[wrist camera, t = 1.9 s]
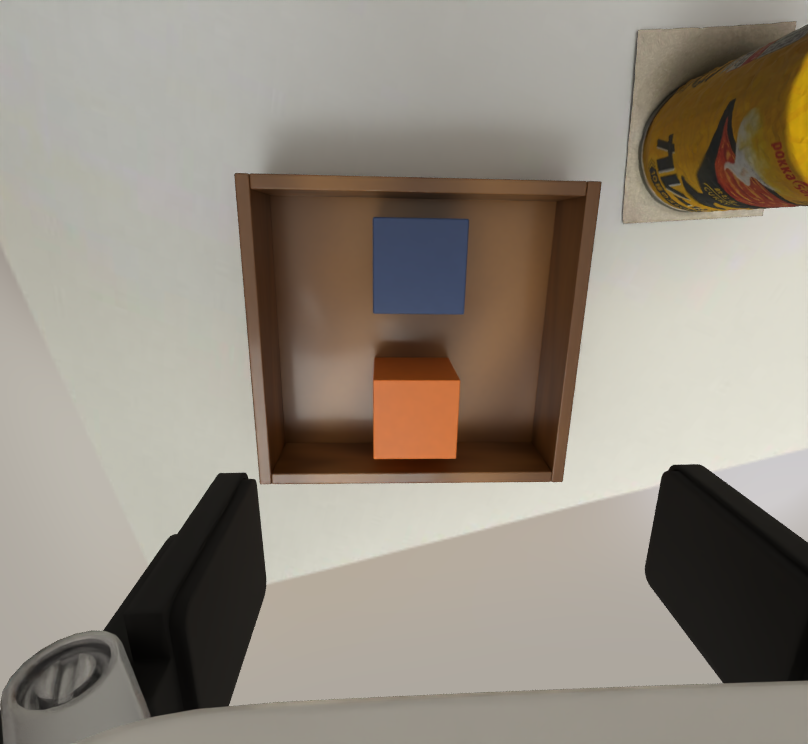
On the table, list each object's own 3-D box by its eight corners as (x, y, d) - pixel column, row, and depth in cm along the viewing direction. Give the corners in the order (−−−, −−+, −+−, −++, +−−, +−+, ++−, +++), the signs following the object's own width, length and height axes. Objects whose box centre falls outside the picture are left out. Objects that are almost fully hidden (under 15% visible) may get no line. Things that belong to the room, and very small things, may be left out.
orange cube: (374, 425, 26) (373, 459, 22) (374, 357, 25) (373, 379, 21) (445, 425, 26) (456, 459, 22) (448, 357, 25) (460, 380, 21)
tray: (277, 448, 27) (259, 484, 23) (259, 182, 22) (233, 172, 19) (537, 447, 27) (562, 482, 24) (566, 189, 23) (602, 181, 19)
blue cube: (374, 300, 24) (372, 313, 20) (374, 219, 23) (372, 217, 19) (451, 301, 24) (464, 314, 20) (455, 220, 23) (469, 218, 19)
